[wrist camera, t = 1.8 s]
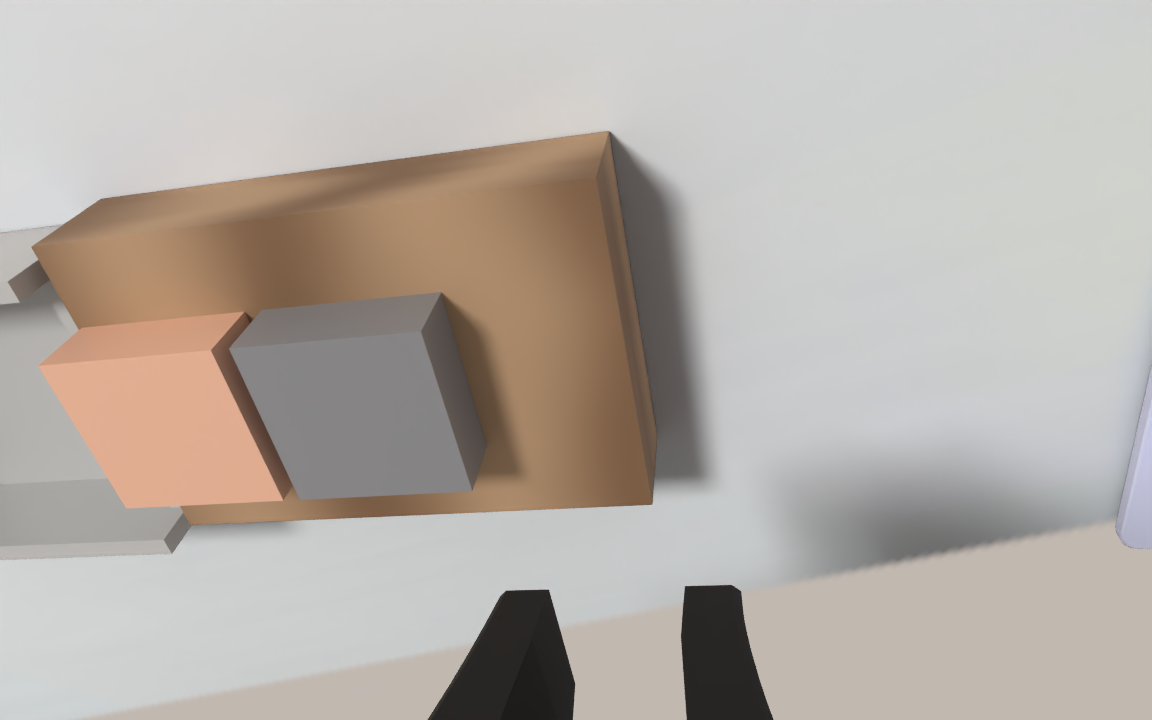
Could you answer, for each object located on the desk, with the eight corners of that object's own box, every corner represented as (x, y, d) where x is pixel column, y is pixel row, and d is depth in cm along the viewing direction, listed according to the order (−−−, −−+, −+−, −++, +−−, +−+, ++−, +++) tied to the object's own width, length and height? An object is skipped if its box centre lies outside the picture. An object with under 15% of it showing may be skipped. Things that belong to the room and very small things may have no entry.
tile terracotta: (244, 311, 18) (210, 350, 17) (309, 456, 20) (283, 500, 19) (81, 327, 19) (37, 365, 18) (160, 465, 21) (126, 508, 20)
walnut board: (609, 131, 17) (595, 177, 15) (657, 436, 22) (652, 504, 20) (101, 198, 20) (30, 246, 18) (234, 461, 24) (190, 524, 22)
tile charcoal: (441, 291, 17) (421, 331, 16) (487, 446, 19) (472, 491, 18) (261, 309, 18) (228, 348, 17) (324, 455, 20) (299, 499, 19)
